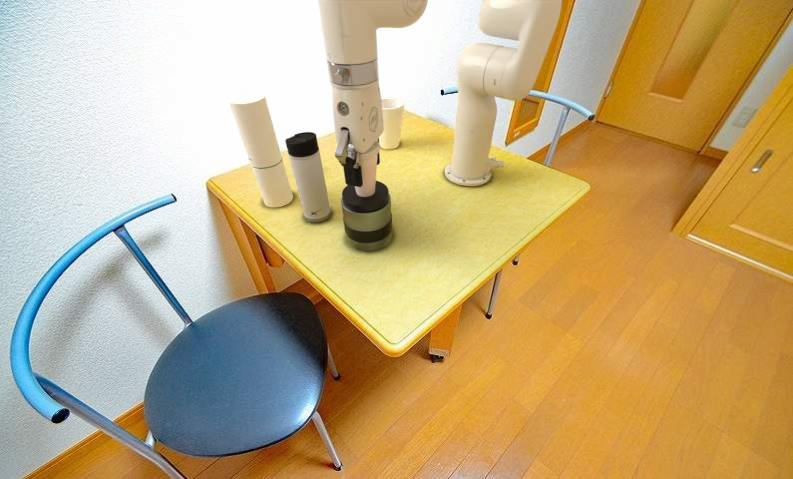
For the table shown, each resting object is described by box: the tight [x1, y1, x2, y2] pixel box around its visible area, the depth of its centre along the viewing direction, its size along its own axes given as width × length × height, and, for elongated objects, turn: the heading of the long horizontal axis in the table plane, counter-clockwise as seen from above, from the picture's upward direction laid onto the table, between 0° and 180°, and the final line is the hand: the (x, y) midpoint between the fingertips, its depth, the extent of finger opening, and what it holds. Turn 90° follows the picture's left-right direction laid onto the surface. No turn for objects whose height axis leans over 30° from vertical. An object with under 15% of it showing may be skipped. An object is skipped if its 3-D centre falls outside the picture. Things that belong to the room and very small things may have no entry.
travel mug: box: [285, 131, 332, 224], centre depth 71 cm, size 6×7×20 cm
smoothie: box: [348, 142, 380, 197], centre depth 59 cm, size 6×6×14 cm
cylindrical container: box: [227, 91, 294, 208], centre depth 74 cm, size 7×7×25 cm
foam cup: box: [379, 97, 405, 150], centre depth 100 cm, size 10×9×13 cm
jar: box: [340, 180, 393, 252], centre depth 68 cm, size 10×10×12 cm
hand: (363, 173), depth 61 cm, fingers open, 7 cm apart
